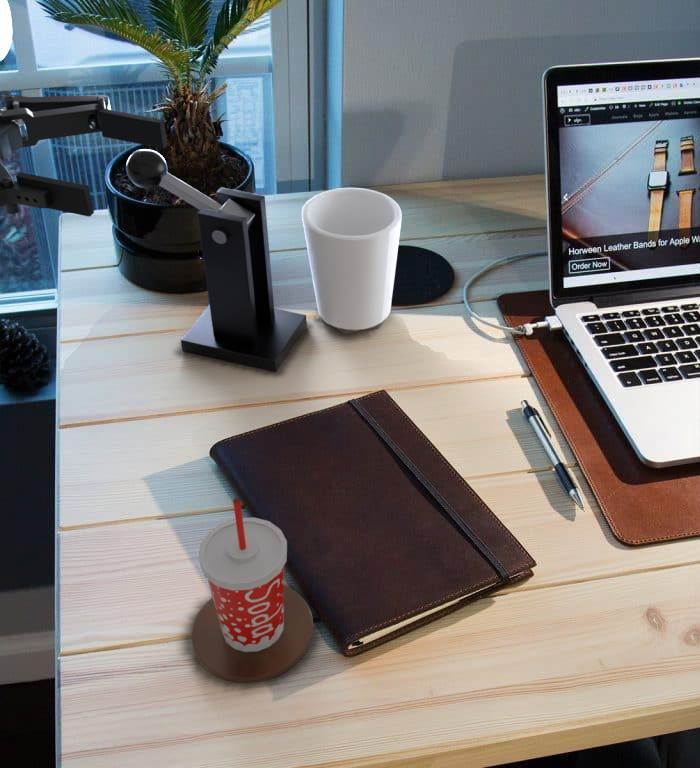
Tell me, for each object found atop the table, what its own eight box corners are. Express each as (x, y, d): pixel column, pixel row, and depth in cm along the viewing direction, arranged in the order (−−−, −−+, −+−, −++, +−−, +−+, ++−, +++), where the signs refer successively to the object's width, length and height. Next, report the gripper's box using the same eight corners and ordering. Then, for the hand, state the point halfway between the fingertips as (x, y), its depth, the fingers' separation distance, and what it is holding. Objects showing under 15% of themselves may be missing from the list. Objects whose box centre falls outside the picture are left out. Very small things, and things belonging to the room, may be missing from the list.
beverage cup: (216, 669, 76) (194, 542, 67) (207, 603, 81) (185, 476, 72) (300, 650, 78) (289, 524, 69) (287, 587, 82) (275, 461, 73)
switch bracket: (182, 351, 104) (160, 215, 94) (217, 307, 110) (201, 174, 100) (276, 372, 103) (264, 236, 93) (306, 326, 109) (299, 193, 99)
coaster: (196, 694, 75) (195, 689, 75) (188, 596, 82) (188, 591, 81) (321, 669, 78) (321, 664, 77) (304, 576, 84) (304, 571, 84)
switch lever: (114, 181, 96) (124, 152, 93) (134, 163, 98) (144, 135, 96) (232, 252, 98) (244, 225, 95) (248, 232, 100) (260, 206, 98)
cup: (351, 277, 116) (348, 176, 108) (419, 312, 112) (422, 210, 104) (287, 317, 110) (279, 213, 102) (357, 356, 106) (355, 250, 98)
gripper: (9, 108, 111) (194, 143, 108) (-158, 224, 92) (61, 271, 90) (-8, 39, 106) (185, 75, 104) (-188, 148, 87) (43, 194, 85)
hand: (128, 166), depth 97 cm, fingers open, 13 cm apart
